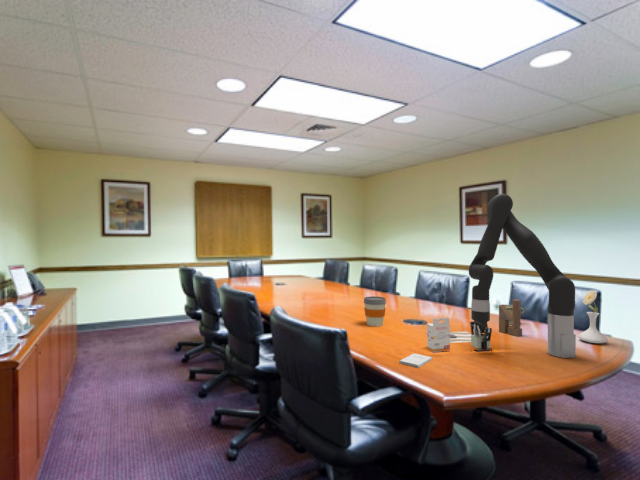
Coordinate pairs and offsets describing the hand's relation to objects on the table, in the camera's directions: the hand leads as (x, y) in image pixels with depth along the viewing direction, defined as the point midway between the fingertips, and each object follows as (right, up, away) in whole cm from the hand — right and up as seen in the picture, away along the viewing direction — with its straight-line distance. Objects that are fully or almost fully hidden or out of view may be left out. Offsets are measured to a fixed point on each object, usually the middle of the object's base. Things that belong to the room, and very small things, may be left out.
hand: (480, 347), depth 162 cm
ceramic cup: (+40, -1, +50) cm, 64 cm away
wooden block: (+27, -1, +27) cm, 38 cm away
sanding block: (0, -1, 0) cm, 1 cm away
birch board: (-6, -1, +15) cm, 17 cm away
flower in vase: (+58, -1, +11) cm, 59 cm away
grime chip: (-8, +1, +15) cm, 17 cm away
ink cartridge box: (-19, -1, -1) cm, 19 cm away
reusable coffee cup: (-40, -1, +48) cm, 62 cm away
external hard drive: (-33, -2, -15) cm, 36 cm away
